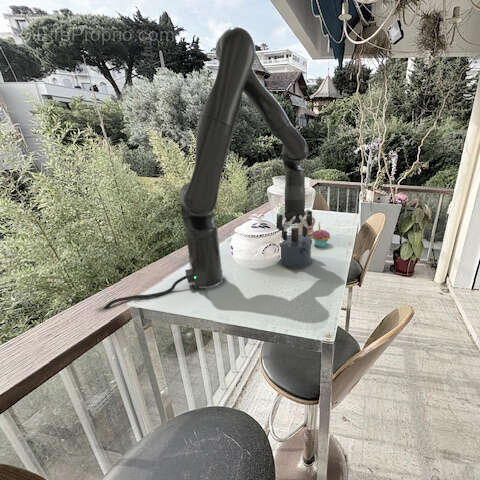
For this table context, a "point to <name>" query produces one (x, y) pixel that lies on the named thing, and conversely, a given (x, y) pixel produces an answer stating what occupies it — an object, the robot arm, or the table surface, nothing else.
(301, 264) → the pot
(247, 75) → the robot arm
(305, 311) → the table surface
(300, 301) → the table surface
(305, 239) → the lid
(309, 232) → the teacup with lid
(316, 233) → the cupcake
